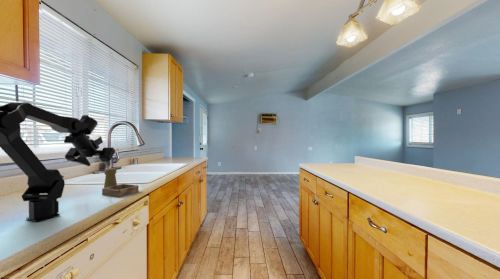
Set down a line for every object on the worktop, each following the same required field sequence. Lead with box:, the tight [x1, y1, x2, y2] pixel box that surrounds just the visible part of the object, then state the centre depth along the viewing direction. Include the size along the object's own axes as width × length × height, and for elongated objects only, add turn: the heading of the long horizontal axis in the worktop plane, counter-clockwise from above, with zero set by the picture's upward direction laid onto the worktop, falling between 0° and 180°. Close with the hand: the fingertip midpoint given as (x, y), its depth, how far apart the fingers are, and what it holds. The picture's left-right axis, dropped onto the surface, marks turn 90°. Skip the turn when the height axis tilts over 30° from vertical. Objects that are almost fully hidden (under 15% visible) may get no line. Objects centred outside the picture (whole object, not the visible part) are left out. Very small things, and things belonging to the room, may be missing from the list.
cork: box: [103, 167, 118, 188], centre depth 110 cm, size 6×6×11 cm
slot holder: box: [101, 183, 139, 198], centre depth 104 cm, size 11×11×3 cm
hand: (99, 165), depth 102 cm, fingers open, 9 cm apart
